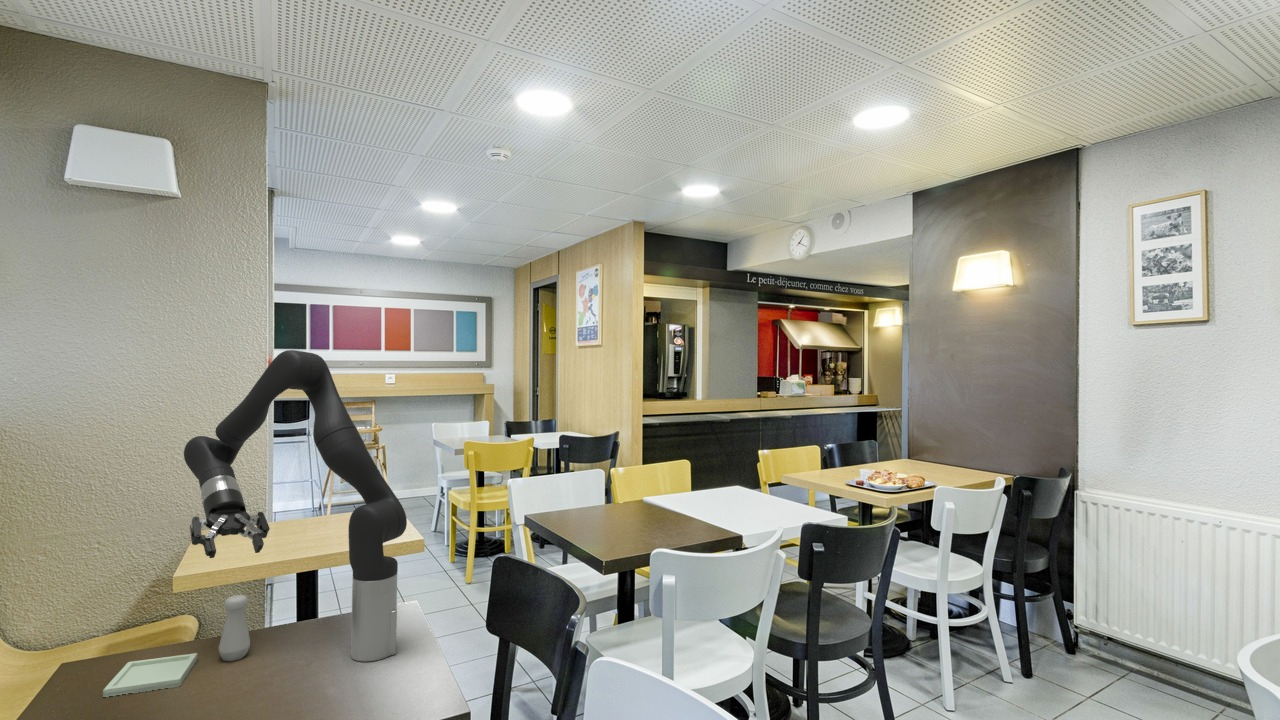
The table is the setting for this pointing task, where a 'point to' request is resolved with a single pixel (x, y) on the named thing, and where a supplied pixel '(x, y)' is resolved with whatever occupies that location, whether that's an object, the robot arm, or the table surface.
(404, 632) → the table surface
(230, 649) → the salt shaker
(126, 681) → the tray
